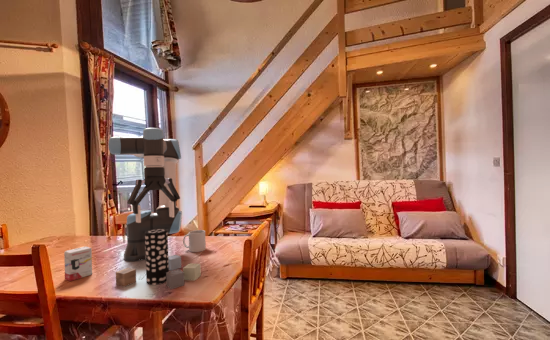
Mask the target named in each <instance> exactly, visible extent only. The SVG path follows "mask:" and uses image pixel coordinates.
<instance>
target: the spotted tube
mask: <svg viewBox="0 0 550 340" xmlns="http://www.w3.org/2000/svg"><path fill="white" fill-rule="evenodd" d="M168 236H169V234H168V231H167V229H153V230H149V231H146V232H145V249H146V259H145V272H146V273H145V275H146V276H145V277H146V280H145V281H146V284H147V285H150V286H151V285H152V286H155V285H160V284H165V283H167V282H166V272H170V270H169V263H168V257H169V237H168Z"/></svg>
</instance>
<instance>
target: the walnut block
mask: <svg viewBox="0 0 550 340" xmlns="http://www.w3.org/2000/svg"><path fill="white" fill-rule="evenodd" d="M136 282H137V269H136V268H132V267H126V268H124V269H120V270H118V271H115V285H116V286H119V287H124V288H125V287H126V286H131V284H134V283H136Z"/></svg>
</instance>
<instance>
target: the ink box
mask: <svg viewBox="0 0 550 340" xmlns="http://www.w3.org/2000/svg"><path fill="white" fill-rule="evenodd" d="M63 253H64V258H63V259H64V280H66V281H68V282H73V281H75V280H79V279H81V278H82V279H83V278H84V277H87V276H91V275H93V259H92V258H93V256H92V255H93V253H92V247H89V246H81V247H77V248H73V249H68V250H65V251H64V252H63Z"/></svg>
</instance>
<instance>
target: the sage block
mask: <svg viewBox="0 0 550 340" xmlns="http://www.w3.org/2000/svg"><path fill="white" fill-rule="evenodd" d="M201 269H202V268H201V264H200V263H188V264H186V265H185V266H184V267H183V268H182V272H184V281H194V282H195V281H196V280H198V279H199V278H200V277H201V276H202V275H201V273H202V272H201Z"/></svg>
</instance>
